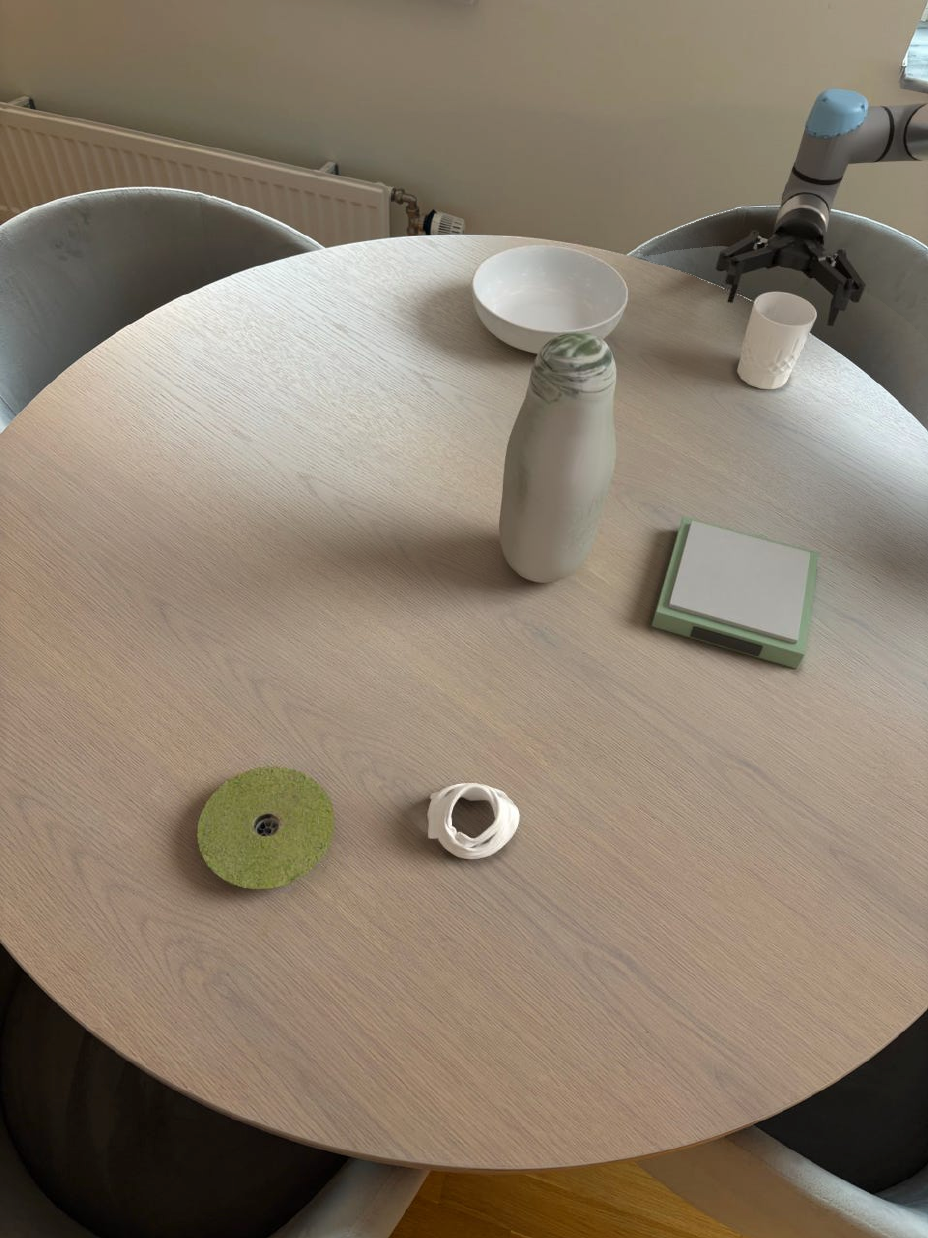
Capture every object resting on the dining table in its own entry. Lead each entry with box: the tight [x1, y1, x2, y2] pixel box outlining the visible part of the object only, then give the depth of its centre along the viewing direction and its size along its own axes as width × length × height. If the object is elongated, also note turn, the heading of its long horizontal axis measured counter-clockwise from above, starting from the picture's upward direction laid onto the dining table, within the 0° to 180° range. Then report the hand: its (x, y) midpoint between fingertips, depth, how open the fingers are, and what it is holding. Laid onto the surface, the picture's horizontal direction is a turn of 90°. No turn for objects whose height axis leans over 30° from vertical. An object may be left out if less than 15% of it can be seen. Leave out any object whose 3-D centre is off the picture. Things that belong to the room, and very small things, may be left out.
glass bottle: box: [498, 332, 617, 584], centre depth 92 cm, size 10×10×28 cm
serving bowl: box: [470, 244, 629, 354], centre depth 128 cm, size 21×21×7 cm
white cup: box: [736, 291, 818, 390], centre depth 124 cm, size 8×8×10 cm
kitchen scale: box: [651, 515, 820, 670], centre depth 100 cm, size 15×15×3 cm
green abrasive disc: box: [196, 765, 335, 890], centre depth 80 cm, size 11×11×2 cm
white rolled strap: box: [427, 782, 520, 860], centre depth 81 cm, size 8×7×5 cm
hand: (782, 305), depth 128 cm, fingers open, 13 cm apart
